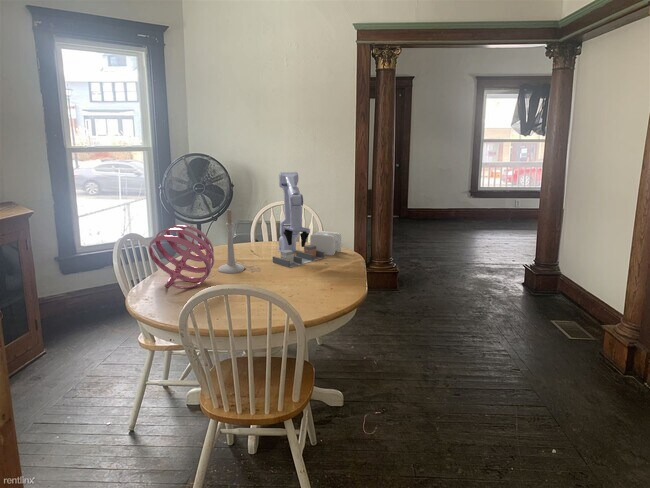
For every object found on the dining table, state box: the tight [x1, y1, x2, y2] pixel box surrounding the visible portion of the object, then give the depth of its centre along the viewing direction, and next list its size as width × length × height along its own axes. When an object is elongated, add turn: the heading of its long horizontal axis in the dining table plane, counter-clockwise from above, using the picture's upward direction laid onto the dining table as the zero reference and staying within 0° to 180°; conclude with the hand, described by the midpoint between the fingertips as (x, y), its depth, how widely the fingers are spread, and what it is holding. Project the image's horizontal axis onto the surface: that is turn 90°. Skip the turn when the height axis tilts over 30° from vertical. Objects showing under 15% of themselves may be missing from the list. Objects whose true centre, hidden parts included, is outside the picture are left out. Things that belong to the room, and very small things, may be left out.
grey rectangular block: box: [280, 250, 295, 264], centre depth 251 cm, size 4×5×6 cm
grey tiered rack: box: [272, 250, 325, 268], centre depth 257 cm, size 14×25×4 cm, turn 136°
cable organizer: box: [309, 230, 342, 256], centre depth 272 cm, size 15×11×12 cm
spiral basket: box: [148, 224, 215, 290], centre depth 217 cm, size 28×28×27 cm
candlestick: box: [217, 208, 246, 274], centre depth 240 cm, size 13×13×30 cm
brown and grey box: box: [303, 244, 316, 258], centre depth 262 cm, size 4×5×6 cm
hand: (296, 245), depth 251 cm, fingers open, 7 cm apart
